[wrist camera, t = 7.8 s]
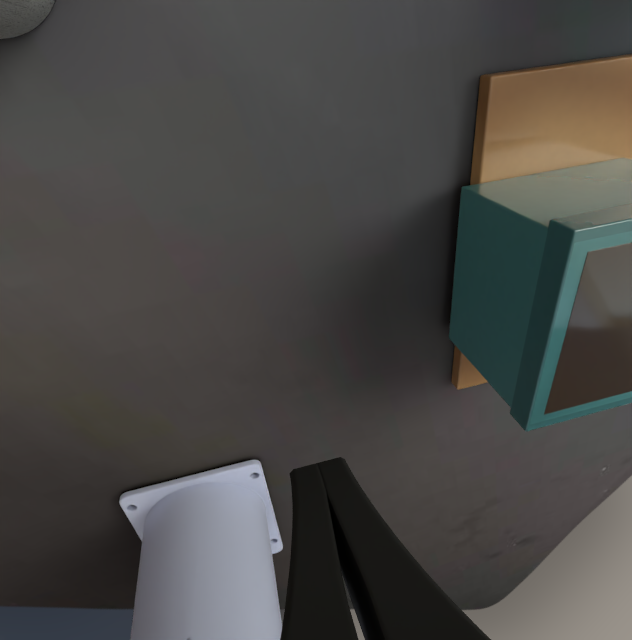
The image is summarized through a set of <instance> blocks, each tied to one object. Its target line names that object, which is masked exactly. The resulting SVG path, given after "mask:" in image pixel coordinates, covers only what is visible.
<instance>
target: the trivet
mask: <svg viewBox="0 0 632 640" xmlns="http://www.w3.org/2000/svg"><path fill="white" fill-rule="evenodd" d="M619 158H627V159H632V54H627V55H619V56H612V57H605V58H598V59H591V60H584V61H577V62H570V63H563V64H556V65H549V66H541V67H534V68H527V69H520V70H513V71H506V72H499V73H492V74H485V75H482V76H481V77H480V86H479V96H478V107H477V117H476V128H475V138H474V149H473V159H472V170H471V180H470V185H474V184H480V183H486V182H491V181H497V180H502V179H508V178H513V177H519V176H524V175H530V174H536V173H541V172H547V171H552V170H558V169H563V168H569V167H574V166H580V165H586V164H591V163H597V162H602V161H608V160H613V159H619ZM451 382H452V383H453V385H454V386H455V387H456V388H457V389H458V390H459V389H463V388H467V387H471V386H475V385H479V384H483V383H487V380H486V379H485V378H484V377H483V376H482V375H481V374H480V373H479V371H478V370H477V369H476V368H475V367H474V366H473V365H472V364H471V363H470V361H469V360H468V359H467V358H466V357H465V356H464V355H463V354H462V352H461V351H460V350H459V349H458V348H457V347H456V346H455V348H454V359H453V369H452V380H451Z"/></svg>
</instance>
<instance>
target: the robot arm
mask: <svg viewBox="0 0 632 640" xmlns="http://www.w3.org/2000/svg"><path fill="white" fill-rule="evenodd" d="M290 478H291V485H292V499H293V527H292V544H291V560H290V571H289V579H288V588H287V596H286V605H285V612H284V620H283V626H282V621H281V614H280V607H279V600H278V593H277V586H276V579H275V572H274V565H273V558H272V554H274V553H277V552H279V551H281V550H282V548H283V544H282V540H281V536H280V533H279V529H278V525H277V521H276V518H275V514H274V510H273V506H272V503H271V499H270V495H269V492H268V488H267V484H266V480H265V477H264V473H263V469H262V466H261V463H260V461H258V460H248V461H245V462H241V463H237V464H233V465H229V466H225V467H221V468H217V469H213V470H210V471H206V472H202V473H198V474H194V475H190V476H186V477H182V478H178V479H174V480H171V481H167V482H163V483H159V484H155V485H151V486H147V487H143V488H139V489H136V490H132V491H128V492H125V493H123V494H122V495H121V496H120V500H119V504H120V506H121V507H122V509H123V511H124V512H125V514H126V516H127V517H128V519H129V521H130V522H131V524H132V526H133V527H134V529H135V531H136V532H137V534H138V536H139V537H140V539H141V541H142V547H141V555H140V563H139V572H138V580H137V588H136V596H135V604H134V613H133V621H132V629H131V637H130V640H358V637H357V633H356V630H355V626H354V623H353V619H352V615H351V612H350V608H349V605H348V601H347V596H346V592H345V588H344V583H343V579H342V575H343V578H344V581H345V584H346V586H347V589H348V592H349V595H350V598H351V601H352V604H353V606H354V609H355V612H356V615H357V618H358V621H359V623H360V626H361V629H362V632H363V635H364V638H365V640H491V639H490V638H489V637H488V636H487V635H486V634H484V633H483V632H482V631H481V630H480V629H479V628H478V627H477V626H476V625H475V624H474V623H473V622H472V620H471V619H470V618H469V617H468V616H466V614H465V613H464V612H463V611H462V610H461V609H460V608H459V607H458V606H457V605H456V604H455V603H454V602H453V601H452V600H451V599H450V598H449V597H448V596H447V595H446V594H445V593H444V591H443V590H442V589H441V588H440V587H439V586H438V585H437V584H436V583H435V582H434V580H433V579H432V578H431V577H430V576H429V575H428V574H427V573H426V571H425V570H424V569H423V568H422V567H421V566H420V564H419V563H418V562H417V561H416V560H415V559H414V557H413V556H412V555H411V554H410V553H409V551H408V550H407V549H406V548H405V547H404V545H403V544H402V543H401V542H400V540H399V539H398V538H397V537H396V535H395V534H394V533H393V531H392V530H391V529H390V527H389V526H388V525H387V523H386V522H385V521H384V520H383V518H382V517H381V516H380V514H379V513H378V511H377V510H376V509H375V507H374V506H373V505H372V503H371V502H370V500H369V499H368V497H367V496H366V494H365V493H364V491H363V490H362V488H361V487H360V485H359V484H358V482H357V480H356V479H355V477H354V475H353V474H352V472H351V470H350V468H349V467H348V465H347V463H346V461H345V459H343V458H341V457H339V458H335V459H331V460H328V461H324V462H320V463H316V464H312V465H308V466H304V467H301V468H297V469H293V470H292V472H291V473H290ZM341 572H342V573H341Z"/></svg>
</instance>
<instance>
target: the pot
mask: <svg viewBox="0 0 632 640" xmlns="http://www.w3.org/2000/svg"><path fill="white" fill-rule="evenodd" d="M449 339H450V340H451V341H452V342H453V343H454V345H455V346H456V347H457V348H458V349H459V350H460V351H461V352H462V354H463V355H464V356H465V357H466V358H467V359H468V360H469V361H470V363H471V364H472V365H473V366H474V367H475V368H476V369H477V370H478V371H479V373H480V374H481V375H482V376H483V377H484V378H485V379H486V380H487V382H488V383H489V384H490V385H491V386H492V387H493V388H494V389H495V391H496V392H497V393H498V394H499V395H500V396H501V397H502V398H503V399H504V401H505V402H506V403H507V404H508V405H509V406H510V407H511V410H510V414H511V415H512V416H513V418H514V419H515V420H516V421H517V422H518V423H519V424H520V426H521V427H522V428H523V429H524V430H525V431H530V430H534V429H538V428H541V427H545V426H549V425H552V424H556V423H560V422H563V421H567V420H571V419H574V418H578V417H582V416H585V415H589V414H593V413H596V412H600V411H604V410H607V409H611V408H615V407H618V406H622V405H626V404H629V403H632V159H627V158H619V159H613V160H608V161H602V162H597V163H591V164H586V165H580V166H574V167H569V168H563V169H558V170H552V171H547V172H541V173H536V174H530V175H524V176H519V177H513V178H508V179H502V180H497V181H491V182H486V183H480V184H474V185H469V186H464V187H462V188H461V198H460V210H459V222H458V234H457V245H456V257H455V269H454V281H453V293H452V305H451V317H450V329H449Z"/></svg>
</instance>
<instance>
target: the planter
mask: <svg viewBox="0 0 632 640" xmlns="http://www.w3.org/2000/svg"><path fill="white" fill-rule="evenodd" d="M54 2H55V0H0V39H4V38H12V37H17V36H20V35H23V34H25V33H28V32H30V31H31V30H33V29H34V28H36V27H37V26H38V25H39V24H41V23H42V21H43V20H44V19H45V18H46V17H47V16H48V14H49V12H50V11H51V9H52V7H53V5H54Z"/></svg>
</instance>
